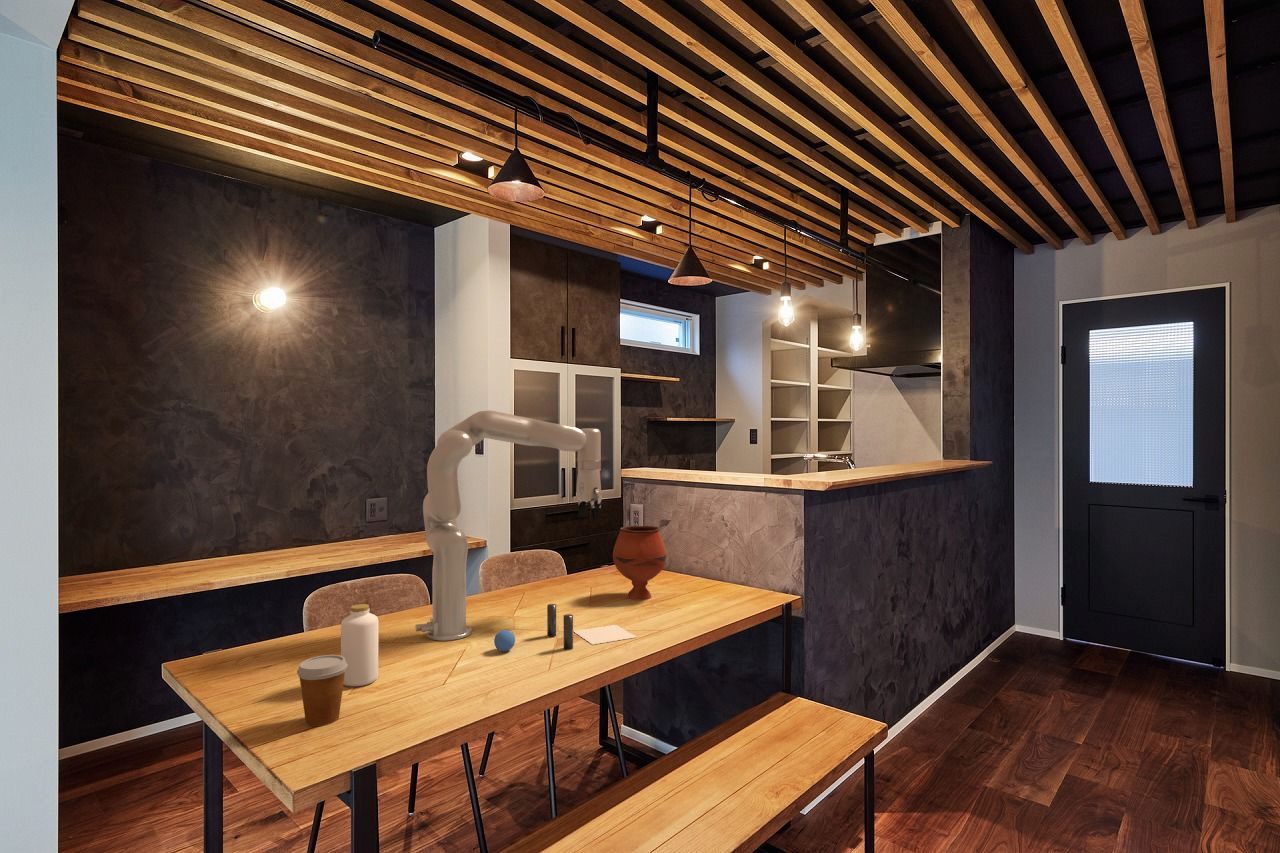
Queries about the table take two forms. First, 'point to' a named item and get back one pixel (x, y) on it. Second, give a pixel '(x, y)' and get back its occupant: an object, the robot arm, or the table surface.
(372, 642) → the potion bottle
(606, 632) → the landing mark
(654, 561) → the goblet
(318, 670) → the disposable coffee cup
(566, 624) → the post
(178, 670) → the table surface
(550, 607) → the post
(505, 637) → the ball
